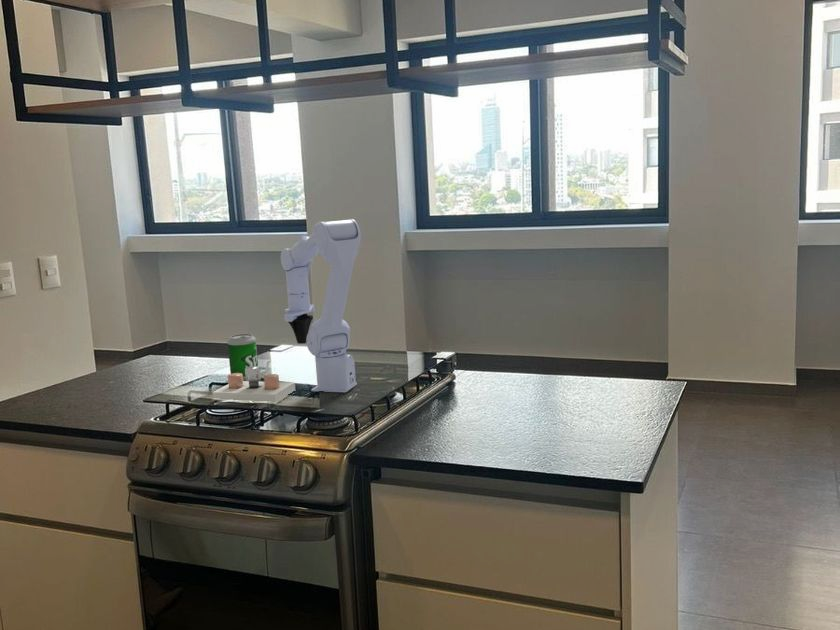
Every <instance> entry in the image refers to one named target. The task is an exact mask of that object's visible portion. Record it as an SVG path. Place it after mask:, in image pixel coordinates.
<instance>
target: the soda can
mask: <svg viewBox="0 0 840 630" xmlns="http://www.w3.org/2000/svg"><path fill="white" fill-rule="evenodd" d="M227 350H228V351H227V352H228V360H229V370H230V373H229V374H233V373H242V375H243V381H244V380H246V375H245V368H246V367H250V366H259V360H258V351H257V350H258V349H257V338H256V337H255V336H253V334H251V333H239V334H234V335H231V336H230V337H229V338H228V339H227Z"/></svg>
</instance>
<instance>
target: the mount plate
mask: <svg viewBox="0 0 840 630" xmlns="http://www.w3.org/2000/svg"><path fill="white" fill-rule="evenodd" d="M258 381H259V387H258V388H254V389H250V388H249V381H243V387H241V388H239V389H235V388H229V384H226V385H224V386H222V387H220V388H217V389H216V390H214V391H212V399H213V398H220V399H233V400H251V401H252V400H253V401H272V402H276V401H278V400H279V399H281V398H283V397H285V396H287V395H288V394H290V393H292V392H293V391H296V382H292V381H291V382H290V381H279V386H280V387H279V388H278V389H276V390H266V389H265V385H264V381H260V380H258Z"/></svg>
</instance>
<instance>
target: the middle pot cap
mask: <svg viewBox="0 0 840 630" xmlns="http://www.w3.org/2000/svg"><path fill="white" fill-rule="evenodd" d="M245 375H246V381H249V388H250V389H254V388H258V387H259V381H260V380H261V379H262V378H261V377H262V376H261V367H260V366H259V365H258V366H250V367H246V368H245Z"/></svg>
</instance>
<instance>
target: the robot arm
mask: <svg viewBox="0 0 840 630" xmlns="http://www.w3.org/2000/svg"><path fill="white" fill-rule="evenodd" d="M361 240H362V234H361V230H360V226H359V224H358V223H357V221H356V220H355V219H353V218H349V219H343V220H331V221H318V222H317V223H316V224H314V225H313V232H312V233H311V234H310V236H307V235H305V236H304V235H301V237H300V238H299V240H298V241H297V242H296V243H294V244H293V245H292V247H290V248H287V247H285V248H283V249H282V251H281V252H280V263H281V267H282V268H283V270H284V271H285V279H286V281H285V282H286V290H287V291H286V292H287V304H288V305H287V306H288V307H287V308H286V309H284V312H285V314H284V315H283V316H284V317H283V318H284V322H288V324H289V326H290V327H291V328H292V331H293V334H294V336H295V337H294V338H295V339H296V343H297V344H302V345H303V344H306V347H307V349H308V351H309V353H310V354H311V355H312V356H314V359H315V361H314V362H315V372H316V386H314V387H313V388H311V392H319V391H324V392H323V393H326V392H327V393H328V392H329V393H347V392H349V391H350V390H351V389H353V388H354V387H356V386H357V384H358V383H357V381H356V365H355V363H356V362H355V358H354V356H353V355H352V354H347V350H348V349H349V346H350V343H351V334H350V333H351V328H350V326H349V324H348V322H347V321H346V320H344V319H343V318H344V314H345V310H346V309H345V308H346V305H347V299H348V294H349V290H350V286H351V285H350V284H351V280H352V275H353V271H354V270H353V269H354V265H355V259H356V258H357V257H358V255H359V254H358V253H359V249H360V245H361ZM319 253H320V255H321V256H322V259H323V261H325V262H327V263H330V269H329V275H328V280H327V285H326V291H325V296H324V301H323V306H322V312H321V317H319V318H318V319H317V320H315V321H314V322H313V323H312V321H313V320H314V319H313V317H314V315H312V314H310V313H314V312H315V304H311V302H310V301H311V300H310V299H311V298H310V287H309V286H310V285H309V275H310V274H311V273H310V270H311V269H310V267H311V264H312V263H311V262H312V260H314V259H315V258H316V256H318V254H319ZM311 323H312V324H311ZM310 326H311V327H310Z"/></svg>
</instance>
